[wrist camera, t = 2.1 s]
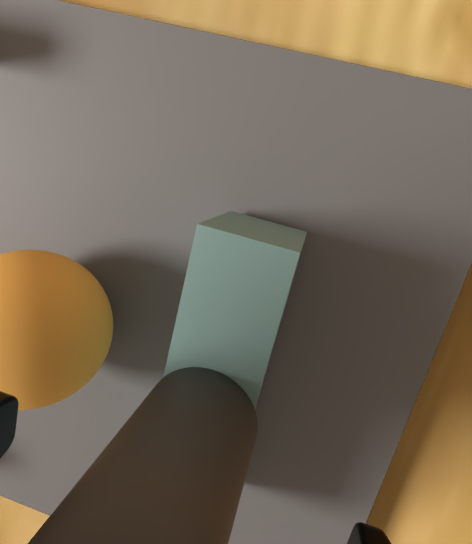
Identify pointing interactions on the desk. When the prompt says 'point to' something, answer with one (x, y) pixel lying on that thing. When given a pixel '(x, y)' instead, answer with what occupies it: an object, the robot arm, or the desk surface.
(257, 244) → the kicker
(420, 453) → the desk surface
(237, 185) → the board
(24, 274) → the ball
